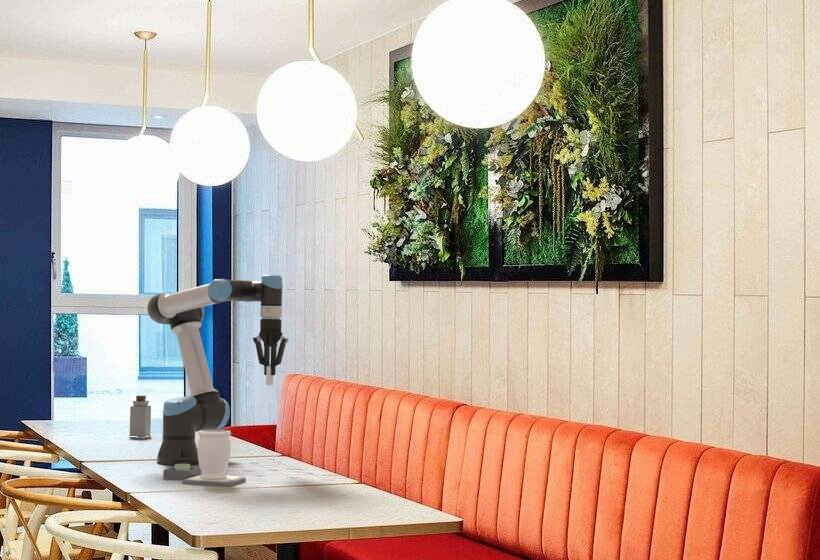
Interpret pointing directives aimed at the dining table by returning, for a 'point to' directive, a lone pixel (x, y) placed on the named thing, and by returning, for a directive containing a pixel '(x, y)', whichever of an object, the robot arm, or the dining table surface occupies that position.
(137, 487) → the dining table surface
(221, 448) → the jar
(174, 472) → the button housing
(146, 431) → the perfume bottle
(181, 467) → the button
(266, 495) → the dining table surface
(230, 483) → the board
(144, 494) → the dining table surface
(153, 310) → the robot arm
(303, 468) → the dining table surface
